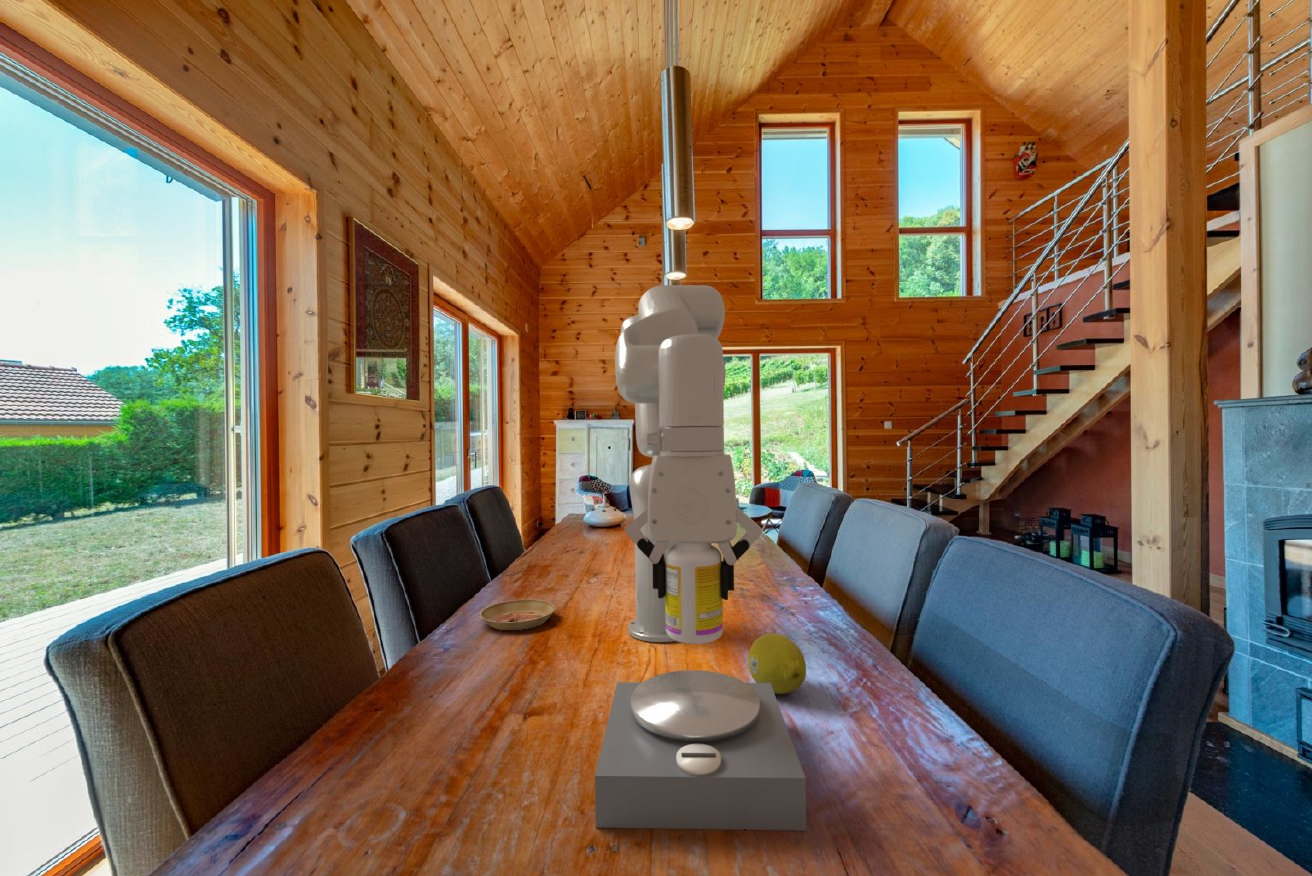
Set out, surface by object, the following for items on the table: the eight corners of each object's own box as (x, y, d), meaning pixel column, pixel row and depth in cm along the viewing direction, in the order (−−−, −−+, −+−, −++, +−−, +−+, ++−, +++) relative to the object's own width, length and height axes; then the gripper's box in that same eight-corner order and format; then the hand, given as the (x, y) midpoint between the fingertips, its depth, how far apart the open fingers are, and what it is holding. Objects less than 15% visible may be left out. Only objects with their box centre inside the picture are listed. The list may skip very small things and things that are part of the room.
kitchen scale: (617, 720, 74) (617, 676, 74) (770, 721, 73) (770, 676, 73) (595, 827, 54) (594, 767, 54) (806, 830, 53) (805, 769, 53)
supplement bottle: (728, 629, 67) (727, 522, 67) (715, 649, 61) (714, 531, 61) (675, 623, 70) (674, 520, 69) (657, 642, 63) (656, 528, 63)
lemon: (741, 677, 86) (741, 625, 86) (791, 674, 87) (790, 623, 87) (761, 712, 75) (760, 652, 75) (817, 708, 76) (816, 650, 76)
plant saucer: (464, 632, 108) (463, 618, 108) (506, 608, 122) (505, 596, 122) (532, 639, 104) (532, 625, 104) (567, 614, 118) (567, 601, 118)
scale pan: (635, 677, 73) (635, 670, 73) (750, 678, 73) (750, 670, 73) (625, 740, 58) (625, 731, 58) (769, 742, 58) (769, 732, 58)
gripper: (612, 444, 63) (614, 603, 63) (769, 442, 60) (771, 607, 61) (624, 443, 70) (626, 585, 70) (765, 441, 68) (766, 588, 68)
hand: (693, 594), depth 65 cm, fingers closed on supplement bottle, 6 cm apart
